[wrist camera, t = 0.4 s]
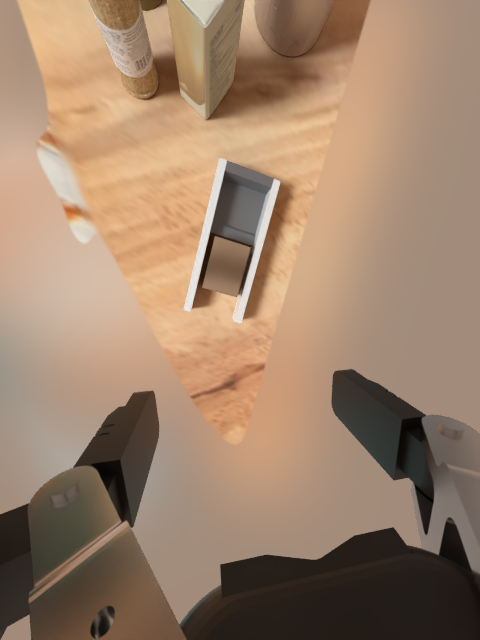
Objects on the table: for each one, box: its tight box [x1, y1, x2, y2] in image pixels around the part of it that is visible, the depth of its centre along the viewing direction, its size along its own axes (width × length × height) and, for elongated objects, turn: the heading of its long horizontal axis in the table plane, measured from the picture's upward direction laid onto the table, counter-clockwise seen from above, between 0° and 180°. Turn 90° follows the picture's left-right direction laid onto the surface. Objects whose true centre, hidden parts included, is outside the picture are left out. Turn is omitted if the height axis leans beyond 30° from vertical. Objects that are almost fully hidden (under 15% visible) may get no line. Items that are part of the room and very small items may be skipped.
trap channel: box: [184, 158, 281, 324], centre depth 32 cm, size 20×8×3 cm, turn 165°
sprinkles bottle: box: [89, 0, 158, 99], centre depth 22 cm, size 5×5×13 cm
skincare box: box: [167, 0, 244, 120], centre depth 24 cm, size 6×4×12 cm
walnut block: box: [202, 236, 251, 297], centre depth 33 cm, size 7×5×4 cm
